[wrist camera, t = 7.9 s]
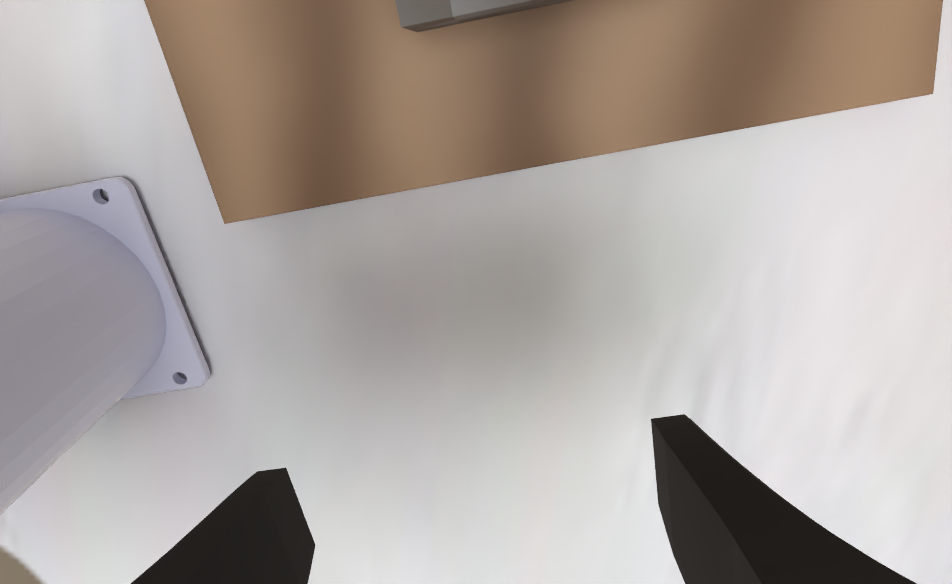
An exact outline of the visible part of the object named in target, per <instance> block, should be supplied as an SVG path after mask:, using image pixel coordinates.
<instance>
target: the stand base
mask: <svg viewBox="0 0 952 584" xmlns="http://www.w3.org/2000/svg"><path fill="white" fill-rule="evenodd" d="M144 1H145V4H146V7H147V9H148V12H149V15H150V18H151V21H152V23H153V26H154V29H155V32H156V34H157V37H158V40H159V43H160V46H161V48H162V51H163V54H164V57H165V60H166V62H167V65H168V68H169V71H170V73H171V76H172V79H173V82H174V85H175V87H176V90H177V93H178V96H179V98H180V101H181V104H182V107H183V110H184V112H185V115H186V118H187V121H188V123H189V126H190V129H191V132H192V135H193V137H194V140H195V143H196V146H197V149H198V151H199V154H200V157H201V160H202V162H203V165H204V168H205V171H206V174H207V176H208V179H209V182H210V185H211V187H212V190H213V193H214V196H215V199H216V201H217V204H218V207H219V210H220V212H221V215H222V218H223V221H224V224H226V223H232V222H237V221H243V220H248V219H254V218H259V217H265V216H270V215H275V214H281V213H286V212H292V211H297V210H303V209H308V208H314V207H319V206H324V205H330V204H335V203H341V202H346V201H352V200H357V199H363V198H368V197H373V196H379V195H384V194H390V193H395V192H401V191H406V190H412V189H417V188H423V187H428V186H433V185H439V184H444V183H450V182H455V181H461V180H466V179H472V178H477V177H482V176H488V175H493V174H499V173H504V172H510V171H515V170H521V169H526V168H531V167H537V166H542V165H548V164H553V163H559V162H564V161H570V160H575V159H580V158H586V157H591V156H597V155H602V154H608V153H613V152H619V151H624V150H630V149H635V148H640V147H646V146H651V145H657V144H662V143H668V142H673V141H679V140H684V139H689V138H695V137H700V136H706V135H711V134H717V133H722V132H728V131H733V130H738V129H744V128H749V127H755V126H760V125H766V124H771V123H777V122H782V121H787V120H793V119H798V118H804V117H809V116H815V115H820V114H826V113H831V112H837V111H842V110H847V109H853V108H858V107H864V106H869V105H875V104H880V103H886V102H891V101H896V100H902V99H907V98H913V97H918V96H924V95H929V94H933V89H934V80H935V70H936V61H937V51H938V42H939V32H940V23H941V13H942V4H943V0H144Z"/></svg>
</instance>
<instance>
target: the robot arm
mask: <svg viewBox="0 0 952 584" xmlns="http://www.w3.org/2000/svg"><path fill="white" fill-rule="evenodd" d="M100 189H103V190H104V191H106V192H107V194H108V196H109V201H106V200H104V199H103V198H102V197H101V195H100ZM178 372H181V373H183V374H184V375H185V376H186V377H187V379H183V378H181V377H180V376H179V375H178ZM209 376H210V371H209V368H208V365H207V363H206V361H205V358H204V356H203V353H202V351H201V348H200V346H199V344H198V341H197V339H196V336H195V334H194V331H193V329H192V326H191V324H190V322H189V319H188V317H187V314H186V312H185V309H184V307H183V304H182V302H181V300H180V297H179V295H178V292H177V290H176V287H175V285H174V283H173V280H172V278H171V275H170V273H169V270H168V268H167V265H166V263H165V261H164V258H163V256H162V253H161V251H160V248H159V246H158V243H157V241H156V239H155V236H154V234H153V231H152V229H151V226H150V224H149V222H148V219H147V217H146V214H145V212H144V209H143V207H142V204H141V202H140V200H139V197H138V195H137V192H136V190H135V188H134V186H133V185H132V183H131V182H129V181H128V180H127V179H125V178H122V177H111V178H106V179H101V180H96V181H90V182H85V183H80V184H75V185H70V186H65V187H59V188H54V189H49V190H44V191H39V192H33V193H28V194H23V195H18V196H13V197H8V198H2V199H0V515H1V514H2V513H3V512H4V511H5V510H6V509H7V508H8V507H9V506H10V505H11V504H12V503H13V502H14V501H15V500H16V499H17V498H18V497H19V496H20V495H21V494H22V493H23V492H25V491H26V490H27V489H28V488H29V487H30V486H31V485H32V484H33V483H34V482H35V481H36V480H37V479H38V478H39V477H40V476H41V475H42V474H43V473H44V472H45V471H46V470H47V469H48V468H49V467H50V466H51V465H52V464H53V463H54V462H56V461H57V460H58V459H59V458H60V457H61V456H62V455H63V454H64V453H65V452H66V451H67V450H68V449H69V448H70V447H71V446H72V445H73V444H74V443H75V442H76V441H77V440H78V439H79V438H80V437H81V436H82V435H83V434H84V433H86V432H87V431H88V430H89V429H90V428H91V427H92V426H93V425H94V424H95V423H96V422H97V421H98V420H99V419H100V418H101V417H102V416H103V415H104V414H105V413H106V412H107V411H108V410H109V409H110V408H111V407H112V406H113V405H114V404H115V403H117V402H118V401H119V400H121V399H127V398H133V397H139V396H145V395H151V394H158V393H164V392H170V391H176V390H182V389H188V388H195V387H199V386H202V385H203V384H204V383H205V382H206V381H207V380H208V378H209ZM651 423H652V434H653V446H654V458H655V469H656V481H657V493H658V504H659V508H660V511H661V514H662V518H663V521H664V525H665V528H666V532H667V535H668V538H669V542H670V545H671V548H672V552H673V555H674V557H675V560H676V562H677V565H678V567H679V570H680V572H681V574H682V577H683V579H684V581H685V584H916V583H915V582H913V581H911V580H909V579H907V578H905V577H903V576H902V575H900V574H898V573H896V572H895V571H893V570H891V569H889V568H888V567H886V566H884V565H882V564H881V563H879V562H877V561H876V560H874V559H872V558H871V557H869V556H867V555H866V554H864V553H863V552H861V551H859V550H858V549H856V548H855V547H853V546H852V545H850V544H848V543H847V542H845V541H844V540H842V539H840V538H839V537H837V536H836V535H834V534H832V533H831V532H829V531H828V530H827V529H825V528H824V527H822V526H821V525H819V524H818V523H816V522H815V521H814V520H812V519H811V518H809V517H808V516H807V515H805V514H804V513H803V512H801V511H800V510H798V509H797V508H796V507H794V506H793V505H792V504H790V503H789V502H787V501H786V500H785V499H784V498H782V497H781V496H780V495H778V494H777V493H776V492H774V491H773V490H772V489H771V488H769V487H768V486H767V485H766V484H764V483H763V482H762V481H761V480H759V479H758V478H757V477H756V476H755V475H753V474H752V473H751V472H750V471H748V470H747V469H746V468H745V467H744V466H742V465H741V464H740V463H739V462H738V461H736V460H735V459H734V458H733V457H732V456H731V455H730V454H728V453H727V452H726V451H725V450H724V449H723V448H722V447H720V446H719V445H718V444H717V443H716V442H715V441H714V440H713V439H712V438H710V437H709V436H708V435H707V434H706V433H705V432H704V431H703V430H702V429H701V428H700V427H699V426H697V425H696V424H695V423H694V422H693V421H692V420H691V419H690V418H688V417H687V416H686V415H677V416H669V417H662V418H654V419H651ZM314 549H315V543H314V540H313V538H312V535H311V533H310V530H309V527H308V525H307V522H306V519H305V517H304V514H303V511H302V509H301V506H300V503H299V501H298V498H297V495H296V493H295V490H294V488H293V485H292V482H291V480H290V477H289V474H288V472H287V469H286V468H281V469H273V470H266V471H258V472H256V473H255V474H254V475H252V476H251V477H250V478H249V479H248V480H246V481H245V482H244V483H243V484H242V485H241V486H239V487H238V488H237V489H236V490H235V491H234V492H233V493H232V494H231V495H229V496H228V497H227V498H226V499H225V500H224V501H223V502H222V503H221V504H220V505H219V506H217V507H216V508H215V509H214V510H213V511H212V512H211V513H210V514H209V515H208V516H207V517H206V518H204V519H203V520H202V521H201V522H200V523H199V524H198V525H197V526H196V527H195V528H194V529H192V530H191V531H190V532H189V533H188V534H187V535H186V536H185V537H184V538H183V539H182V540H180V541H179V542H178V543H177V544H176V545H175V546H174V547H173V548H172V549H171V550H169V551H168V552H167V553H166V554H165V555H164V556H162V557H161V558H160V559H159V560H158V561H157V562H156V563H154V564H153V565H152V566H151V567H150V568H149V569H147V570H146V571H145V572H144V573H143V574H142V575H140V576H139V577H138V578H137V579H136V580H135V581H133V582H132V583H131V584H307V583H308V579H309V574H310V570H311V564H312V559H313V554H314Z"/></svg>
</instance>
